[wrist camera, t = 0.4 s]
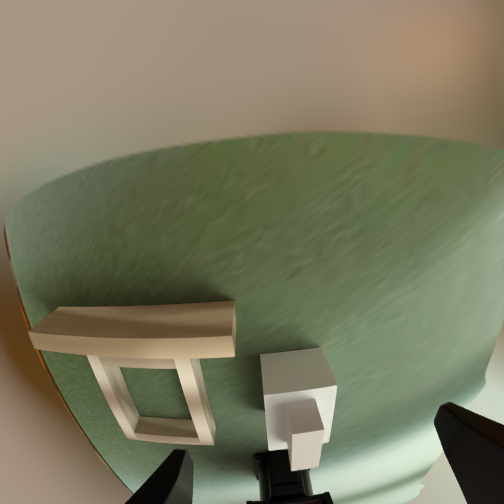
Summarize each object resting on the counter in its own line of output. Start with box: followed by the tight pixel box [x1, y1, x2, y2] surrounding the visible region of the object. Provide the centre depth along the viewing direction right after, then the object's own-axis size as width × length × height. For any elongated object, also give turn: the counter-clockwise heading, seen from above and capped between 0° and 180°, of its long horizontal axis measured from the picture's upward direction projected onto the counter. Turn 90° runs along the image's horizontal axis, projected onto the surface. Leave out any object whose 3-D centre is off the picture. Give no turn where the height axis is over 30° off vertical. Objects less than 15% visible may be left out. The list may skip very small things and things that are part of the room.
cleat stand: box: [28, 300, 237, 445], centre depth 20 cm, size 14×16×5 cm
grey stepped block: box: [260, 347, 337, 471], centre depth 19 cm, size 7×5×8 cm
